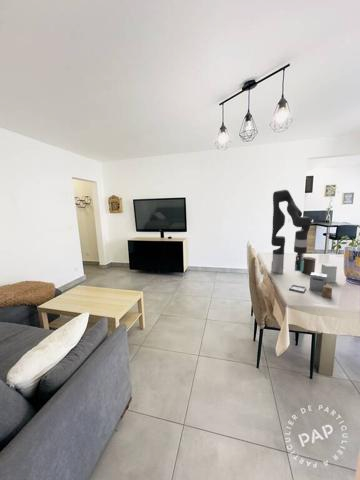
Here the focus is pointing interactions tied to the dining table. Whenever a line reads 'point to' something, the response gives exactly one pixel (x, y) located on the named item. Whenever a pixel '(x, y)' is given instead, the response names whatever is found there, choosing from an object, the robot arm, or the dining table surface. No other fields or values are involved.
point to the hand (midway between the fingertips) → (298, 269)
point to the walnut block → (327, 291)
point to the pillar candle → (308, 265)
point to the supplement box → (329, 272)
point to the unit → (317, 281)
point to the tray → (297, 288)
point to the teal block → (300, 266)
